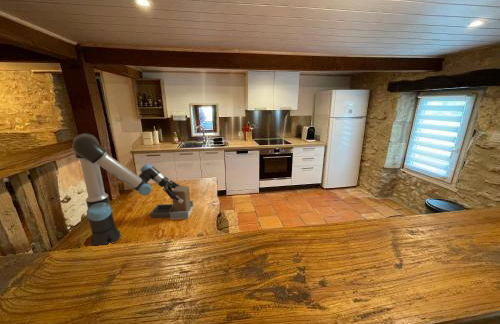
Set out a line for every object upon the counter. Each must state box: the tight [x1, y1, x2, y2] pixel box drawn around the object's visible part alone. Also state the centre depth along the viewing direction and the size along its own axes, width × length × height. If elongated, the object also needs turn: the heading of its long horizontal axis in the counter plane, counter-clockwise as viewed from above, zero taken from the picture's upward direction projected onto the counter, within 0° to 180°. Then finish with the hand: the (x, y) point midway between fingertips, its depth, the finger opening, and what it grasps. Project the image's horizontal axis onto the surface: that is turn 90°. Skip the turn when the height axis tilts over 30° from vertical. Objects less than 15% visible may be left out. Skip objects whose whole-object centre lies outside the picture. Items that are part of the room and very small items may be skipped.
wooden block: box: [172, 185, 191, 212], centre depth 153 cm, size 10×10×20 cm
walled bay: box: [170, 200, 194, 220], centre depth 156 cm, size 13×18×6 cm
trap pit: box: [150, 203, 174, 219], centre depth 155 cm, size 14×14×4 cm
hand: (184, 198), depth 153 cm, fingers open, 11 cm apart
